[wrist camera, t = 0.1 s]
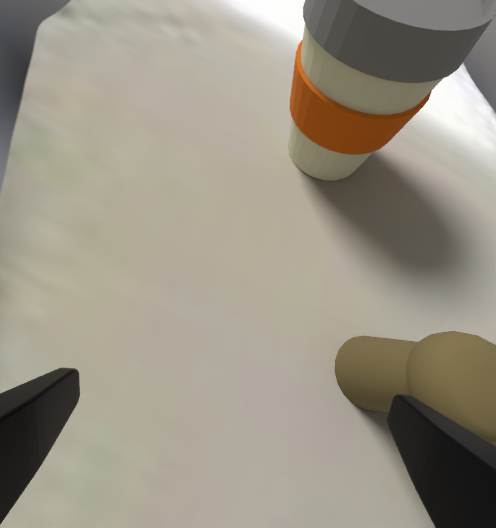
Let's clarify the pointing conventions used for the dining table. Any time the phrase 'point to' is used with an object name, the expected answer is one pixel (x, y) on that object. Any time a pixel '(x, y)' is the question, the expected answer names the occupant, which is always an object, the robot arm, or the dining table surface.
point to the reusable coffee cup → (371, 73)
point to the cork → (424, 376)
